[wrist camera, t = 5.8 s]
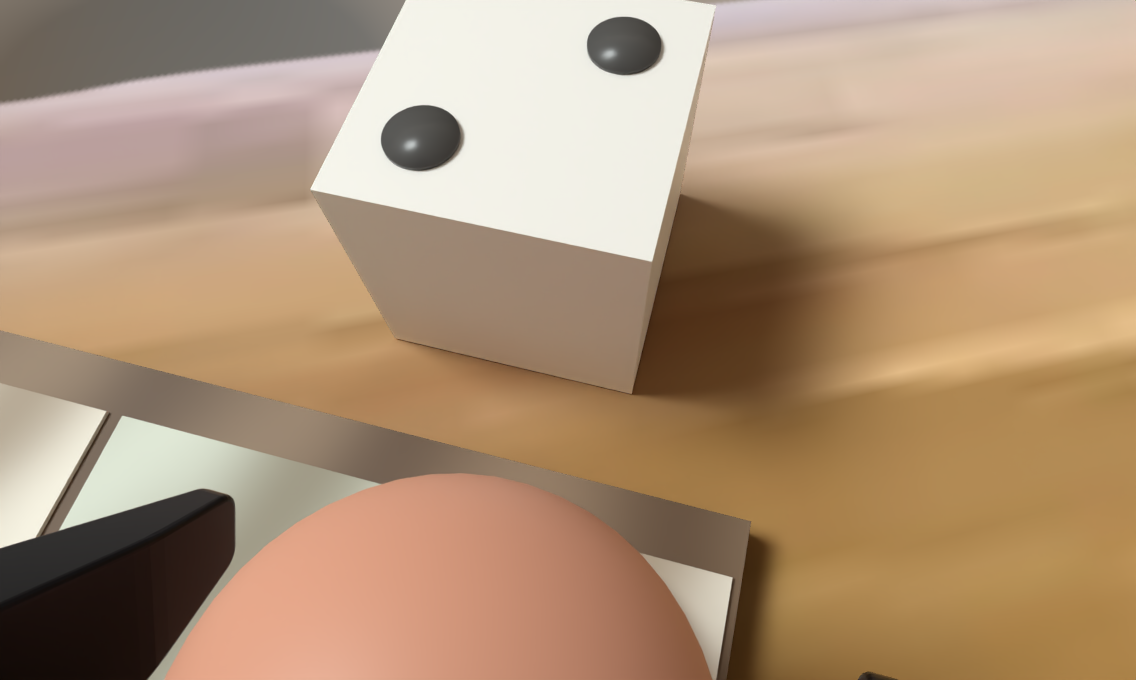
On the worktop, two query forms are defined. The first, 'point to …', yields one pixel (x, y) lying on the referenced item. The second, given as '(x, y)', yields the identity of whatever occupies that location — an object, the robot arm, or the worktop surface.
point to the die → (521, 176)
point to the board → (287, 472)
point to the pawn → (445, 594)
